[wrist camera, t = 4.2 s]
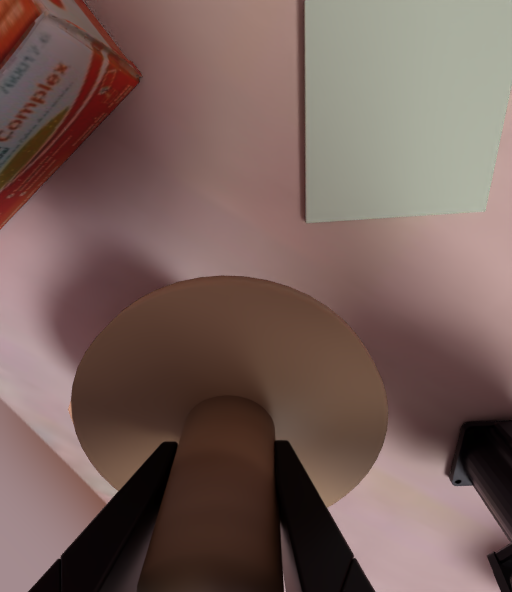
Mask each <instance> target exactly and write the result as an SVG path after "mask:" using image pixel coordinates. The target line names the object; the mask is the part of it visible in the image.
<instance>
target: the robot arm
mask: <svg viewBox="0 0 512 592" xmlns="http://www.w3.org/2000/svg"><path fill="white" fill-rule="evenodd" d="M177 447H178V443H177V442H175V441H165V442H162V443H161V444H160V445H159V446H158V448H157V449H156V450H155V451H154V452H153V453H152V454H151V455H150V457H149V458H148V459H147V460H146V461H145V462H144V463H143V464H142V465H141V467H140V468H139V469H138V470H137V471H136V472H135V473H134V474H133V476H132V477H131V478H130V479H129V480H128V481H127V482H126V483H125V485H124V486H123V487H122V488H121V489H120V490H119V491H118V492H117V493H116V495H115V496H114V497H113V498H112V499H111V500H110V501H109V502H108V504H107V505H106V506H105V507H104V508H103V509H102V510H101V511H100V513H99V514H98V515H97V516H96V517H95V518H94V519H93V520H92V521H91V523H90V524H89V525H88V526H87V527H86V528H85V529H84V530H83V532H82V533H81V534H80V535H79V536H78V537H77V538H76V539H75V541H74V542H73V543H72V544H71V545H70V546H69V547H68V548H67V550H66V551H65V552H64V553H63V554H62V555H61V559H57V561H56V562H55V563H54V564H53V565H52V566H51V567H50V568H49V569H48V571H47V572H46V573H45V574H44V575H43V576H42V577H41V578H40V579H39V580H38V582H37V583H36V584H35V585H34V586H33V587H32V588H31V589H30V590H29V591H28V592H137V584H138V581H139V577H140V574H141V571H142V567H143V564H144V560H145V557H146V553H147V550H148V547H149V543H150V540H151V536H152V533H153V530H154V526H155V523H156V519H157V516H158V512H159V509H160V506H161V502H162V499H163V495H164V492H165V488H166V485H167V482H168V478H169V475H170V471H171V468H172V465H173V461H174V458H175V454H176V451H177ZM274 448H275V468H276V485H277V495H278V503H279V513H280V530H281V548H282V566H283V574H284V581H285V588H286V592H375V590H374V589H373V587H372V585H371V584H370V582H369V580H368V579H367V577H366V575H365V574H364V572H363V570H362V568H361V566H360V565H359V563H358V561H357V559H356V558H354V555H353V553H352V551H351V549H350V547H349V546H348V544H347V542H346V540H345V539H344V537H343V535H342V533H341V532H340V530H339V528H338V526H337V525H336V523H335V521H334V519H333V518H332V516H331V514H330V512H329V511H328V509H327V507H326V505H325V504H324V502H323V500H322V498H321V497H320V495H319V493H318V491H317V490H316V488H315V486H314V484H313V482H312V481H311V479H310V477H309V475H308V474H307V472H306V470H305V468H304V467H303V465H302V463H301V461H300V460H299V458H298V456H297V454H296V453H295V451H294V449H293V447H292V446H291V444H290V442H289V441H288V440H276V441H275V442H274ZM449 479H450V481H451V483H452V484H453V485H454V486H472V485H473V486H474V488H475V489H476V491H477V492H478V494H479V495H480V497H481V498H482V500H483V502H484V503H485V505H486V506H487V508H488V509H489V511H490V512H491V514H492V515H493V517H494V518H495V520H496V521H497V523H498V524H499V526H500V527H501V529H502V530H503V532H504V533H505V535H506V536H507V538H508V539H509V541H510V542H511V543H510V544H509V545H507V546H506V547H504V548H502V549H501V550H499V551H497V552H492V553H490V554H489V555H487V557H488V560H489V562H490V565H491V567H492V570H493V573H494V576H495V578H496V581H497V583H498V585H499V588H500V590H501V592H512V420H506V421H482V422H467V423H465V424H464V425H462V428H461V432H460V436H459V440H458V444H457V448H456V452H455V456H454V461H453V465H452V469H451V473H450V477H449Z"/></svg>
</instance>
